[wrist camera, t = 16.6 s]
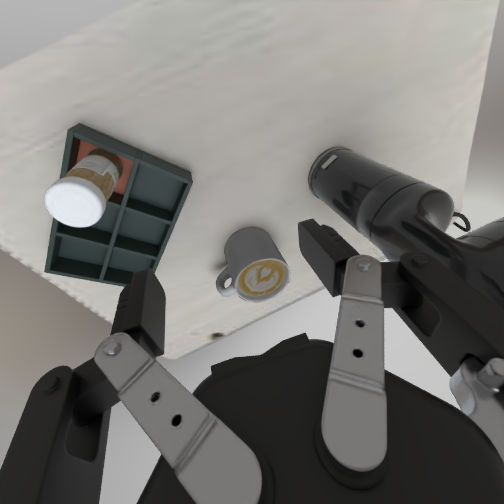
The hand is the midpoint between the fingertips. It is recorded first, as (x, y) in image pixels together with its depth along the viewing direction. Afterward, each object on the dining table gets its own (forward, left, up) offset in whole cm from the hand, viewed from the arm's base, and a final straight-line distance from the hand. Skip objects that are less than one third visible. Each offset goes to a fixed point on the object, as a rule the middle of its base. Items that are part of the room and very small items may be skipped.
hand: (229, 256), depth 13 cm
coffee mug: (-16, +15, -28) cm, 36 cm away
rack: (+6, +15, -28) cm, 32 cm away
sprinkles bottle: (+10, +8, -27) cm, 30 cm away
